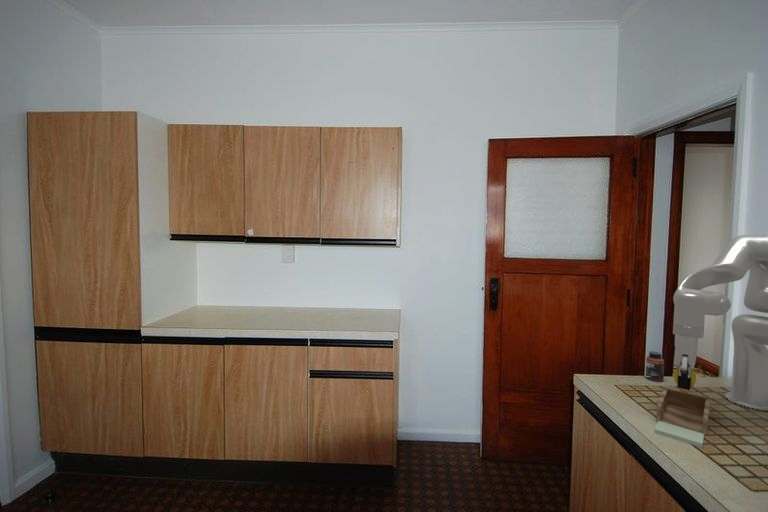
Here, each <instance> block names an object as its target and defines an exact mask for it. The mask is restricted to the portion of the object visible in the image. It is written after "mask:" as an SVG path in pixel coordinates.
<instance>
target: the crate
mask: <svg viewBox="0 0 768 512" xmlns="http://www.w3.org/2000/svg"><path fill="white" fill-rule="evenodd" d="M710 405H711V398H710V397H708V396H707V397H706V396H702V395H699V394H693V393H690V392H685V391H681V390H676V389H673V388H668V387H664V388H663V390H662V392H661V395H660V398H659V399H658V402H657V404H656V420H655V421H656V422H657V423H658V421H661V422H665V423H668V424H672V425H675V426H679V427H682V428H685V429H689V430H692V431H696V432H699V433H703V434H704V436H706V437H707V436H708V427H709V418H710Z"/></svg>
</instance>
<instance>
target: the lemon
mask: <svg viewBox="0 0 768 512" xmlns="http://www.w3.org/2000/svg"><path fill="white" fill-rule="evenodd" d="M687 367H688V366H687ZM687 370H688V369H687ZM678 375H679V366H677V367H676V368H675V369H674V373H673V378H674V379H673V380H674V382H675V383H676V384H677V383H678ZM690 378H691V388H693V387H694V386H695V384H696V382H697V375H696V372H695V371H694V368H693V369H691V372H690Z"/></svg>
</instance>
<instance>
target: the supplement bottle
mask: <svg viewBox="0 0 768 512" xmlns="http://www.w3.org/2000/svg"><path fill="white" fill-rule="evenodd" d="M645 361H646V362H645V363H646V364H645V378H646V379H647V380H650V381H652V382H663V381H664V376H665V375H664V373H665V360H664V358H662V353H661V352H659V351H653V350H650V351H649V353H648V356H647V357H646V359H645ZM646 376H649V377H646ZM650 376H651V377H650Z"/></svg>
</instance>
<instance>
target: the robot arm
mask: <svg viewBox="0 0 768 512" xmlns="http://www.w3.org/2000/svg"><path fill="white" fill-rule="evenodd" d="M748 272H749V273H748ZM747 273H748V274H749V275H748V279H747V284H746V289H745V292H744V296H743V297H744V298H743V304H744V305H743V306H745V308H746V309H748V310H750V311H753V312H758V313H765V314H768V234H743V235H737V236H734V237H733V238H731V239H730V240H729V241H728V243H727V244H726V245H725V247H724V248H723V250H722V251H721V252H720V254H719V255H718V257H717V258H716V259H715V261H713V263H712V264H711V265H709V266H706V267H703V268H702V269H699V270H697V271H695V272H692V273H691V274H688V276H686V277H685V278H684V279H683V280H682V281H681V282H680V284H679V285H678V287H677V289H676V290H675V292H674V294H673V299H672V300H673V304H674V309H673V325H672V334H673V335H676V338H675V347H674V358H673V365H674V366H678V367H679V375H678V383H676V386H677V388H679V389H682V390H687V391H690V390H691V388H692V387H691V378H690V372H691V369H693V370H694V368H695V365H696V361H697V357H698V356H697V355H698V346H699V344H698V343H699V339H703V338H704V332H705V318H706V317H705V316H715V317H717V316H722V315H725V314H727V313H728V312H729V311H730V309H731V300H730V298H729V297H728V296H727V295H725V294H724V293H721V292H717V291H710V290H709V291H708V290H705V289H706V288H708V287H712V286H717V285H723V284H730V283H734V282H737V281H741V280H742V279H743V278H744V277H745V276H746V274H747ZM731 332H732V337H733V355H732V357H733V359H732V360H733V361H732V374H731V376H732V377H731V386H730V387H731V390H730V391H727V392H726V393H725V394H724V398H725V399H726V398H727V399H728V401H729V402H730V403H733V404H735V403H736V405H738V406H741V405H742V406H741V407H744V406H745V407H744V408H748V407H749V409H752V408H753V409H752V410H757V409H758V410H759V411H768V347H767V346H768V316H764V315H762V316H761V315H756V314H750V313H749V314H747V313H746V314H739V315H737V316H735V317H734V318H733V319H732V321H731ZM687 366H688V367H687ZM687 369H688V370H687ZM727 399H726V400H727Z"/></svg>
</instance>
